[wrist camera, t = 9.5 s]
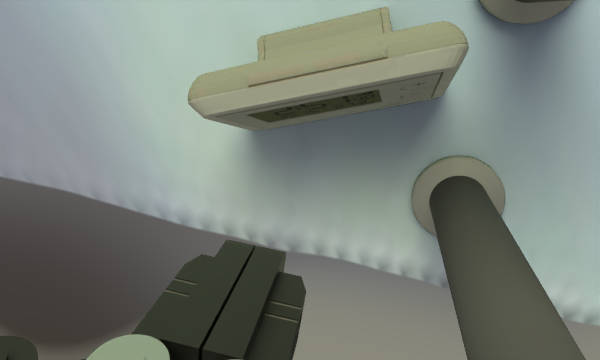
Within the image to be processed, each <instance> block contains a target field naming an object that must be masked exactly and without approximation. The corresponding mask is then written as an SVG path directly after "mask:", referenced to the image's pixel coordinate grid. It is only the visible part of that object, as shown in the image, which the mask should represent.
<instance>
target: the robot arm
mask: <svg viewBox="0 0 600 360" xmlns="http://www.w3.org/2000/svg"><path fill="white" fill-rule="evenodd" d="M285 258H286V252H283V251H278V250H273V249H269V248H264V247H260V246H257V247H256V246H254V245H250V244H246V243H241V242H237V241H231V240H226V241H225V243H224V244H223V246H222V247H221V249H220V250H219V252H218V253H217V255H216V256H215V257H211V256H207V255H203V254H202V255H200V256H198V257H197V258H195V259H193V260H192V261H190V262H188V263H186V264H185V265H184V266H183V268H182V269H181V270H180V271H179V273H178V274H177V275H176V277H175V279H174V280H173V281H172V282H171V283H170V284H169V286H168V287H167V288H166V291H165V292H163V294H162V295H161V296H160V297H159V299H158V300H157V301H156V303H155V304H154V305H153V307H152V308H151V309H150V310H149V312H148V313H147V314H146V316H145V317H144V318H143V320H142V321H141V322H140V324H139V325H138V326H137V327H136V329H135V330H134V332H132V334H131V335H125V336H121V337H117V338H115V339H112V340H110V341H108V342H106V343H104V344H103V345H101V346H100V347H99V348H97V349H96V350H95V351H94V352H93V353H92V354H91V355H90V356H89V357H88V358H87V359H83V360H292V359H293V355H294V351H295V347H296V343H297V339H298V334H299V328H300V323H301V317H302V312H303V306H304V301H305V295H306V290H305V287H304V284H303V281H302V278H301V276H296V275H291V274H287V273H283V272H284V265H285ZM0 360H38V354H37V349H36V348H35V346H34V344H32V343H31V342H30V341H28V340H27V339H24V338H21V337H16V336H0Z"/></svg>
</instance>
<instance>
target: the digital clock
mask: <svg viewBox="0 0 600 360" xmlns="http://www.w3.org/2000/svg"><path fill="white" fill-rule="evenodd" d="M257 45H258V61H257V62H254V63H250V64H245V65H241V66H236V67H232V68H227V69H223V70H219V71H215V72H210V73H206V74H203V75H200V76H199V77H197V78H196V80H195V81H194V82H193V84H192V86H191V87H190V89H189V93H188V102H189V103H188V104H189V105H190V106H191V107H192V108H193V109H194V110H195V111H196V112H198V113H199V114H200V115H201V116H202V117H203V118H205V119H209V120H212V121H216V122H220V123H224V124H228V125H232V126H236V127H240V128H244V129H248V130H254V131H257V130H265V129H270V128H276V127H282V126H287V125H293V124H298V123H304V122H309V121H315V120H320V119H326V118H331V117H337V116H342V115H348V114H353V113H359V112H364V111H370V110H375V109H381V108H386V107H392V106H397V105H403V104H408V103H414V102H419V101H424V100H430V99H434V98H438V97H440V96H442V95H443V94H444V92H445V91H446V89H447V87H448V86H449V84H450V82H451V81H452V79H453V77H454V76H455V74H456V72H457V70H458V69H459V67H460V65H461V63H462V62H463V60H464V58H465V55H466V53H467V51H468V48H469V46H468V42H467V39H466V37H465V35H464V33H463V32H462V31H461V30H460V29H459V28H458V27H457V26H455V25H453V24H452V23H449V22H436V23H431V24H427V25H422V26H417V27H413V28H408V29H403V30H399V31H394V32H392V28H391V22H390V16H389V10H388V7H383V8H379V9H375V10H371V11H367V12H362V13H358V14H354V15H350V16H345V17H341V18H337V19H333V20H328V21H324V22H320V23H316V24H311V25H307V26H303V27H299V28H294V29H290V30H286V31H282V32H278V33H273V34H269V35H265V36H261V37H260V38H258V41H257Z"/></svg>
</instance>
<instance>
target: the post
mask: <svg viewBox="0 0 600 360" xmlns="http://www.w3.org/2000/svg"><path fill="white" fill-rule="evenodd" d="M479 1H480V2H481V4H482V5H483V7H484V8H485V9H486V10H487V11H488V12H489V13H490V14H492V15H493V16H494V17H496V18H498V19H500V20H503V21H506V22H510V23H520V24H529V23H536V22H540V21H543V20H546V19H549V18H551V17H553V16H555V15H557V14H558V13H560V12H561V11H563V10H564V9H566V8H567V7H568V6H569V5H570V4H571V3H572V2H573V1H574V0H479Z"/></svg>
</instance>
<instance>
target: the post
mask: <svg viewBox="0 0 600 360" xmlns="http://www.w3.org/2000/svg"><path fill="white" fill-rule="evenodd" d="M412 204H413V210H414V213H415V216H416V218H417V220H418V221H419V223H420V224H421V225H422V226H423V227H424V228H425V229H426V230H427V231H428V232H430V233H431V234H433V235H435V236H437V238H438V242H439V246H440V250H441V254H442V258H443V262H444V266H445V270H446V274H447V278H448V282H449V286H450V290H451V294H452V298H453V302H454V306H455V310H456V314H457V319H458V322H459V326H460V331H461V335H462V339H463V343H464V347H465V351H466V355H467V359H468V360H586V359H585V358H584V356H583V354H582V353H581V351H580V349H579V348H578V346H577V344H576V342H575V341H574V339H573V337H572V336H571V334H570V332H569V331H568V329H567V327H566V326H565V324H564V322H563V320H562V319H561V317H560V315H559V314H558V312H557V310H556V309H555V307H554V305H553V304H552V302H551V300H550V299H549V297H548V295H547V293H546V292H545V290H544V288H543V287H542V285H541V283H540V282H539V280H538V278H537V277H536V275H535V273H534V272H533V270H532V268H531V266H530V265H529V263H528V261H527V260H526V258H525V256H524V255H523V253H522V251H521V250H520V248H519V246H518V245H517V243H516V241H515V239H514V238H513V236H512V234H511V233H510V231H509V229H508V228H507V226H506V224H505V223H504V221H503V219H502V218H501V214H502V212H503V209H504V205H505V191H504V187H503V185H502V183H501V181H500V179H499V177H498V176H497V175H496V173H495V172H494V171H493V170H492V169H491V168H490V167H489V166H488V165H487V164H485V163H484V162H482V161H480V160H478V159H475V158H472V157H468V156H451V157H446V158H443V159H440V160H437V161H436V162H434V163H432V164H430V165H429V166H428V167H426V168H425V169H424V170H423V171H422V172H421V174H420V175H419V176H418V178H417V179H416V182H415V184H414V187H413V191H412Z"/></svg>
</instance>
